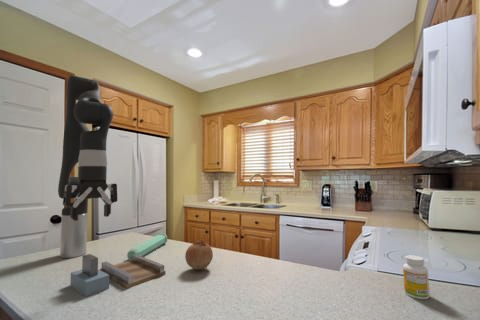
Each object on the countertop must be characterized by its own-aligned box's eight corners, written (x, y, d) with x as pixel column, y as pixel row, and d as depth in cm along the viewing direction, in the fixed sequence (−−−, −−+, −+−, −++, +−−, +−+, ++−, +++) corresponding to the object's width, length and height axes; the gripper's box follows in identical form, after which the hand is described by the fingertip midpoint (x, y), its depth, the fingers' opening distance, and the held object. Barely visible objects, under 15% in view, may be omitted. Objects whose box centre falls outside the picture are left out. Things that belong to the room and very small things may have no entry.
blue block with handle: (70, 285, 73) (71, 255, 74) (92, 279, 78) (92, 250, 79) (86, 297, 66) (87, 263, 67) (109, 289, 71) (109, 257, 71)
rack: (99, 271, 84) (100, 263, 84) (136, 261, 93) (136, 253, 94) (126, 288, 71) (126, 277, 71) (165, 274, 81) (165, 264, 81)
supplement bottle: (410, 288, 68) (407, 253, 69) (433, 296, 63) (430, 258, 64) (400, 293, 65) (398, 256, 66) (424, 302, 60) (421, 262, 61)
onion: (217, 266, 87) (216, 238, 88) (205, 276, 78) (204, 245, 79) (194, 263, 90) (193, 236, 91) (179, 273, 81) (179, 243, 82)
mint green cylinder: (134, 246, 94) (165, 230, 118) (122, 251, 94) (154, 235, 119) (140, 260, 93) (169, 242, 118) (127, 266, 94) (159, 246, 118)
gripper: (111, 166, 83) (110, 214, 81) (61, 165, 72) (59, 220, 71) (121, 165, 78) (120, 216, 77) (69, 164, 67) (67, 223, 66)
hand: (91, 218), depth 74 cm, fingers open, 8 cm apart
